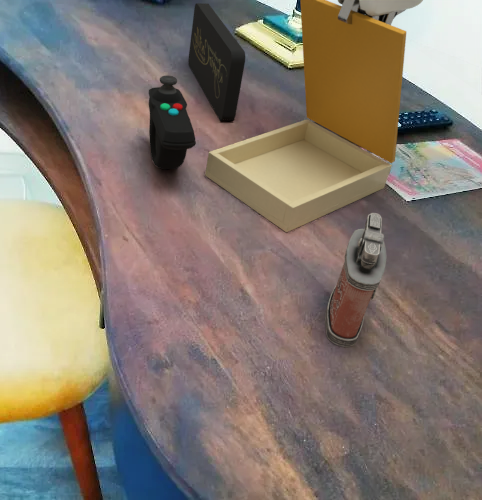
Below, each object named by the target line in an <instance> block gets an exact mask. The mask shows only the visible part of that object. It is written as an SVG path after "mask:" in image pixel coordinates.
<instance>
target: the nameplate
mask: <svg viewBox="0 0 482 500" xmlns="http://www.w3.org/2000/svg"><path fill="white" fill-rule="evenodd" d="M187 60H188V62H187V63H188V66H189V68H190V70H191V73H193V75H194V77H195V79H196V81H197V82H198V84H199V86H200V88H201V90H202V91H203V93H204V95H205V97H206V99H207V100H208V102H209V104H210V106H211V108H212V109H213V111H214V113H215V114H216V117H217V118H218V120H219V121H235V119H236V116H237V110H238V104H239V99H240V93H241V88H242V83H243V76H244V70H245V65H246V52H245V50H244V49H243V47H242V46H241V45H240V42H238V41H237V39H236V38H235V36H233V34H232V33H231V32H230V30H229V29H228V27H227V26H226V25H225V23H224V22H223V21H222V19H221V18H220V17H219V16H218V14H217V13H216V11H215V10H214V9H213V7H212V6H211V5H210V3H199V2H198V3H195V5H194V9H193V18H192V25H191V34H190V42H189V51H188V59H187Z"/></svg>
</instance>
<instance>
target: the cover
mask: <svg viewBox="0 0 482 500" xmlns="http://www.w3.org/2000/svg"><path fill="white" fill-rule="evenodd" d="M299 1H300V18H301V19H300V20H301V37H302V40H301V41H302V56H303V57H302V58H303V74H304V75H303V76H304V93H305V111H306V113H305V115H306V119H308V120H310V121H312V122H314V123H316V124H317V125H319V126H321V127H323V128H325V129H327V130H328V131H330V132H332V133H334V134H336V135H338V136H339V137H341V138H343V139H345V140H347V141H349V142H351V143H352V144H354V145H356V146H358V147H360V148H362V149H363V150H365V151H367V152H369V153H371V154H373V155H374V156H376V157H378V158H380V159H382V160H384V161H386V162H388V163H389V164H393V163H394V162H396V155H397V154H396V152H397V142H398V129H399V119H400V108H401V96H402V86H403V85H402V84H403V75H404V74H403V73H404V63H405V53H406V43H407V42H406V40H407V30H404V29H402V28H399V27H396V26H394V25H392V24H391V25H389V24H386V23H384V22H381V21H379V20H376V19H373V18H371V17H368V16H366V15H363V14H360V13H358V12H355V13H353V14H352V24H347V23H345V22H342V21H340V20H338V14H339V12H340V10H341V7H342V5H341V4H340V5H339V4H337V3H334V2H332V1H329V0H299Z"/></svg>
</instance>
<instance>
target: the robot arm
mask: <svg viewBox="0 0 482 500" xmlns="http://www.w3.org/2000/svg"><path fill="white" fill-rule="evenodd" d="M423 1H424V0H337V2H338V4H340V5H341V6H342V7H341V10H340V12H339V14H338V20H340V21H342V22H345V23H347V24H352V14H353V13H355V12H358V13H360V14H363V15H366V16H368V17H371V18H373V19H376V20H379V21H381V22H384V23H386V24H389V25H391V26H392V23H393V21H394V19H395V18H396V17H397V16H398V15H401V14H402V13H404V12H405V11H407V10H410V9H413V8H416V7H418V5H420V4H421V3H422V2H423Z"/></svg>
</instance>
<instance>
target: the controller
mask: <svg viewBox="0 0 482 500" xmlns="http://www.w3.org/2000/svg"><path fill="white" fill-rule="evenodd" d="M159 83H161V86H157V87H151V88H149V89H148V97H149V98H148V110H149V126H148V127H149V129H148V134H149V135H148V136H149V151H150V157H151V160H152V163H153V165H154V166H155V167H156V168H157V169H161V170H174V169H175V170H176V169H178V168H180V167H181V166H182V165H183V164H184V162H185V159H186V157H187V152H188V150H190V149H192V148H194V147H195V146H196V145H197V140H196V135H195V130H194V127H193V125H192V122H191V119H190V117H189V114H188V110H187V107H188V103H187V101H186V98H185V97H184V95H183V93H182V91H180V89H179V88H176V87H175V85H177V83H178V79H177V78H176V76H173V75H162V76H161V77H160V78H159Z"/></svg>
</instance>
